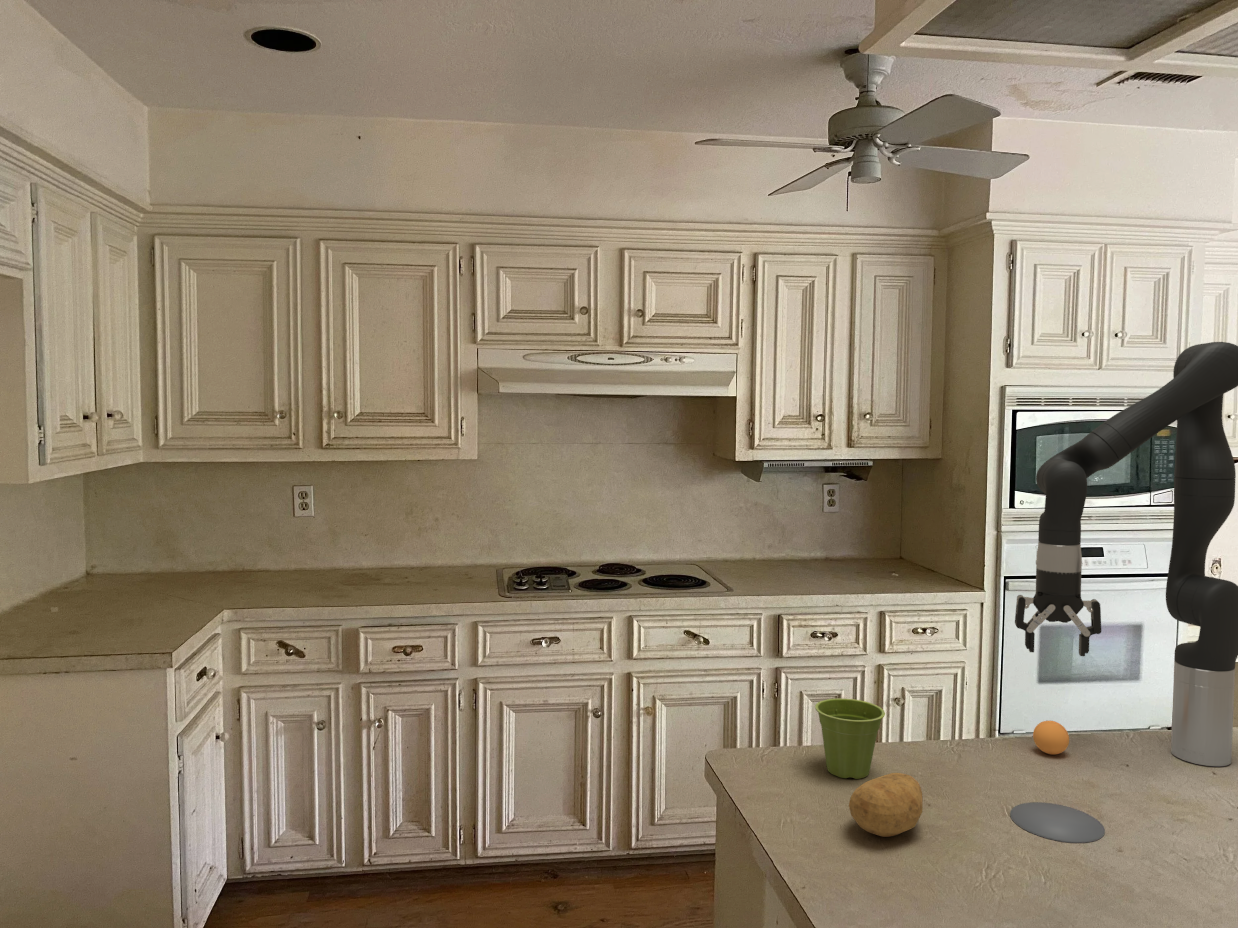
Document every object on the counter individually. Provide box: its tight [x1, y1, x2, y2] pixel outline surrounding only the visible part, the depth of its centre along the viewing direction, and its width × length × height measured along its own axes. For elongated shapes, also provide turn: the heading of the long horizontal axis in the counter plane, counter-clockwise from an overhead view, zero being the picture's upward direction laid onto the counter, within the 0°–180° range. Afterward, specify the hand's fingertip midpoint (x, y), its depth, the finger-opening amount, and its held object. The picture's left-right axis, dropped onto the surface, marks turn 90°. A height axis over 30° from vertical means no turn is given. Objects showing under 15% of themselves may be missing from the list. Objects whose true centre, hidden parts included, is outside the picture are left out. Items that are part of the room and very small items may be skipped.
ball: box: [1032, 720, 1070, 755], centre depth 162 cm, size 6×6×6 cm
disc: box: [1009, 801, 1105, 844], centre depth 135 cm, size 13×13×1 cm
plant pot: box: [814, 697, 886, 780], centre depth 153 cm, size 12×12×11 cm
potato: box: [848, 772, 924, 838], centre depth 132 cm, size 10×14×8 cm
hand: (1056, 653), depth 163 cm, fingers open, 8 cm apart
